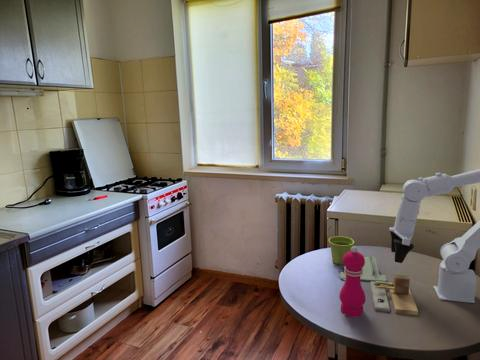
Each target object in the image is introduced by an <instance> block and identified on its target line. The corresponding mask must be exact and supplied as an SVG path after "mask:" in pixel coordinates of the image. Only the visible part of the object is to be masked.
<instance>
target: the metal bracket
mask: <svg viewBox="0 0 480 360" xmlns="http://www.w3.org/2000/svg"><path fill="white" fill-rule="evenodd" d="M364 259H365V265H364V266H363V268H362V269H363V271H362V272H363V274H362V275H361V277H360V281H369V282H370V281H373V282H376V281H377V282H387V278H386V277H387V276H386V275H385V274H380V273H379V269H378V264H377V259H376V256H372V255H369V256H364ZM339 275H340V276H339V277H340V278H339V279H341V280H344V282H345V281H346V274H345V272H344V271H342V272H339ZM387 283H388V282H387Z"/></svg>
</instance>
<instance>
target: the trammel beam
mask: <svg viewBox="0 0 480 360" xmlns="http://www.w3.org/2000/svg"><path fill="white" fill-rule="evenodd" d="M375 282H376V284H382V285H384V286H387V287H394V281H393V282H377V281H375ZM388 291H389V295H390V298H391V302H392V306H393V309H394V310H393V311H394V312H395V313H396V314H404V315H411V316H412V315H414V316H419V310H418V307H417V304H416V302H415V299H414V297H413V294H412V292H411V290H410V288H409V294H401V293H394V290H390V289H388Z"/></svg>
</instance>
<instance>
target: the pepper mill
mask: <svg viewBox="0 0 480 360" xmlns="http://www.w3.org/2000/svg"><path fill="white" fill-rule="evenodd" d="M364 257H365V256H364V254H362V253H361V252H360V251H358V248H357V247H356V246H352V248H351V251H349V252H347V253H345V255H344V256H343V264H344V265H343V266H344V271H343V272H344V273H345V274H346V281H345V280H344V283H343V285H342V287H341V289H340V291H339V300H340V302H341V303H340V311H341V313H342V314H343V315H345V316H347V317H350V318H359V317H361V316H362V315H363V314H364V305H365V303H366V300H367V299H366V295H365V291H364V288H363V287H362V282H361V280H360V277H361V275H362V274H363V272H362V271H363V269H362V268H363V266H364V265H365V259H364ZM362 276H363V275H362Z"/></svg>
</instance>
